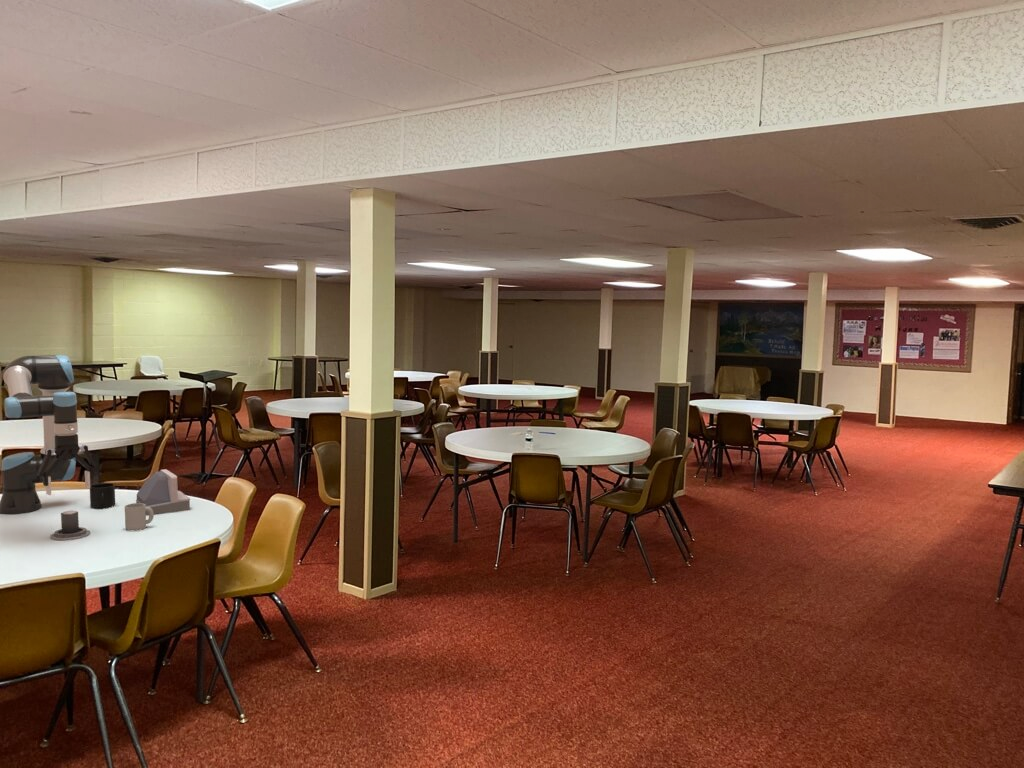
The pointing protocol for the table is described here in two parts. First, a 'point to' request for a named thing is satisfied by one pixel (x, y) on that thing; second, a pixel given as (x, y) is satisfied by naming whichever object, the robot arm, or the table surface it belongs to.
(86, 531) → the ring
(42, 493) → the table surface
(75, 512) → the dark grey cylinder
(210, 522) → the table surface
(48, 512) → the table surface
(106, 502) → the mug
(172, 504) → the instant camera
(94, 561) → the table surface
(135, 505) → the cup
